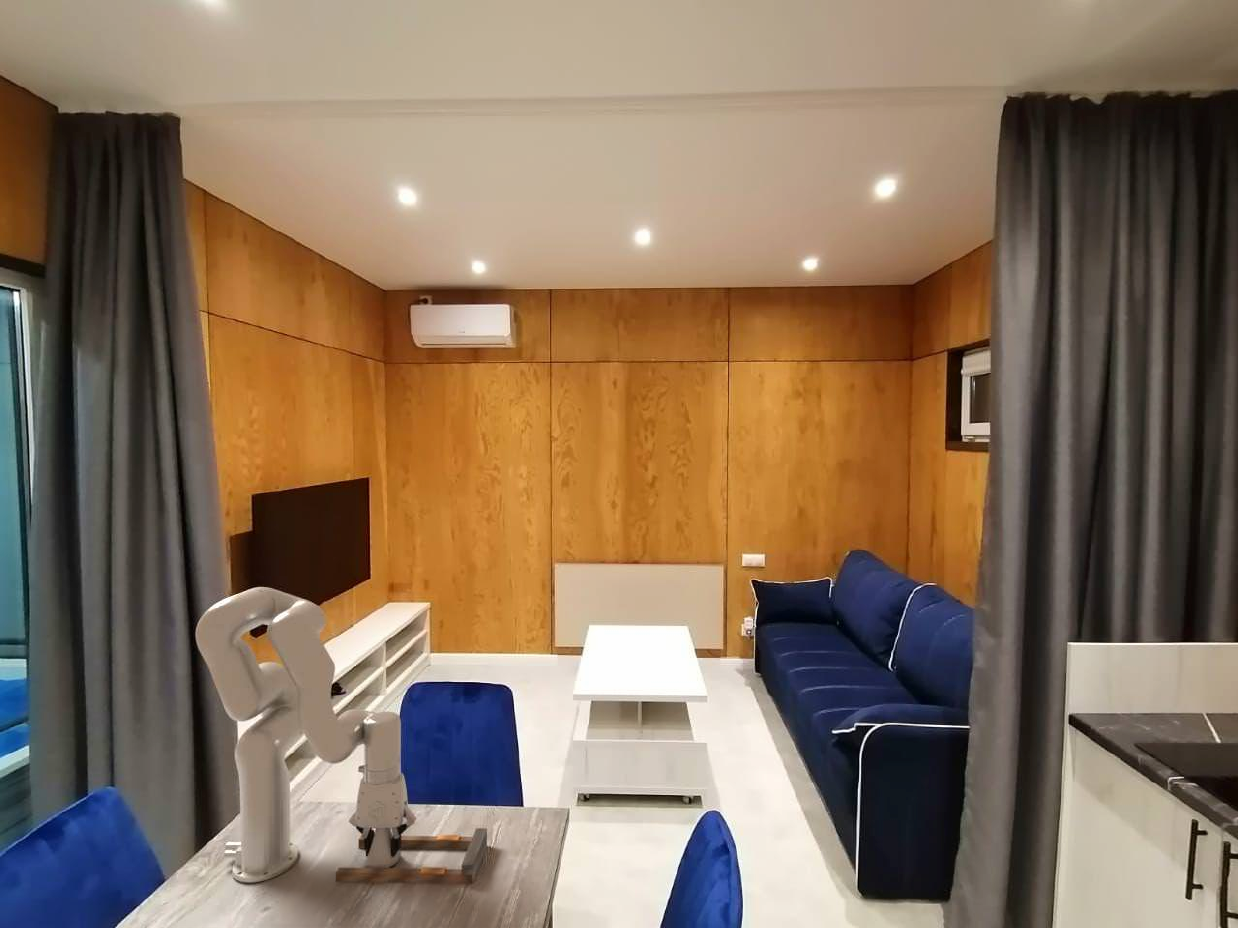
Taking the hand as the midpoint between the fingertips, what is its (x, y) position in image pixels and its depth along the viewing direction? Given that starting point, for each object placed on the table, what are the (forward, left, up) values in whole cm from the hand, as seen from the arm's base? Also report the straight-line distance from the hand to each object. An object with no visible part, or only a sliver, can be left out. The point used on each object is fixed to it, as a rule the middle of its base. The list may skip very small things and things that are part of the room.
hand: (382, 851), depth 135 cm
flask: (0, 0, -2) cm, 2 cm away
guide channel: (+7, 0, -2) cm, 7 cm away
